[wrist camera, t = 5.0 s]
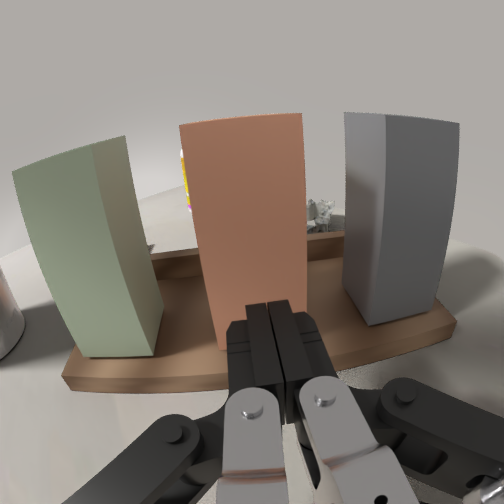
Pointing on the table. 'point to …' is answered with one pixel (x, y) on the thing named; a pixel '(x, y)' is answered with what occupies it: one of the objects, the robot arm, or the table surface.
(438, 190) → the charcoal block
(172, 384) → the walnut tray
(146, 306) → the sage block
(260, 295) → the terracotta block
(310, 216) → the egg carton
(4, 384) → the table surface
